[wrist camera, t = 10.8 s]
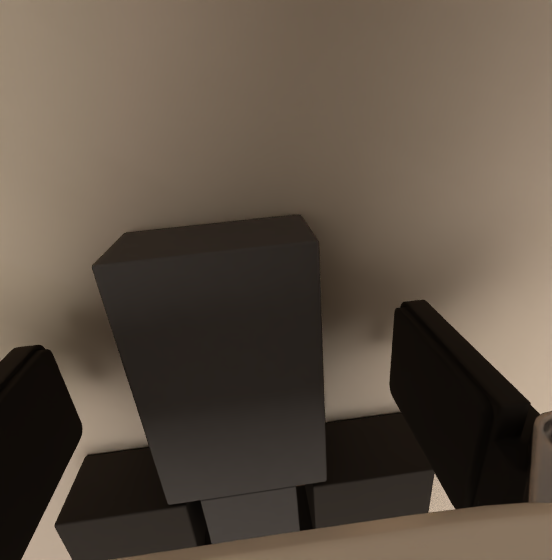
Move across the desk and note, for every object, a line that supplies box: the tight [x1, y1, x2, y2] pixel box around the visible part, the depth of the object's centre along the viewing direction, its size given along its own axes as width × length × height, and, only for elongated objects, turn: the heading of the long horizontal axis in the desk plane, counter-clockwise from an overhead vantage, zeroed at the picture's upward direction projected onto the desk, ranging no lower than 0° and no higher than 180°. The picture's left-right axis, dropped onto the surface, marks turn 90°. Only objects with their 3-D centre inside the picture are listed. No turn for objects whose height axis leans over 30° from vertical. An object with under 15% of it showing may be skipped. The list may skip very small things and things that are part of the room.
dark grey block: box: [92, 215, 327, 544], centre depth 11 cm, size 10×5×2 cm, turn 5°
